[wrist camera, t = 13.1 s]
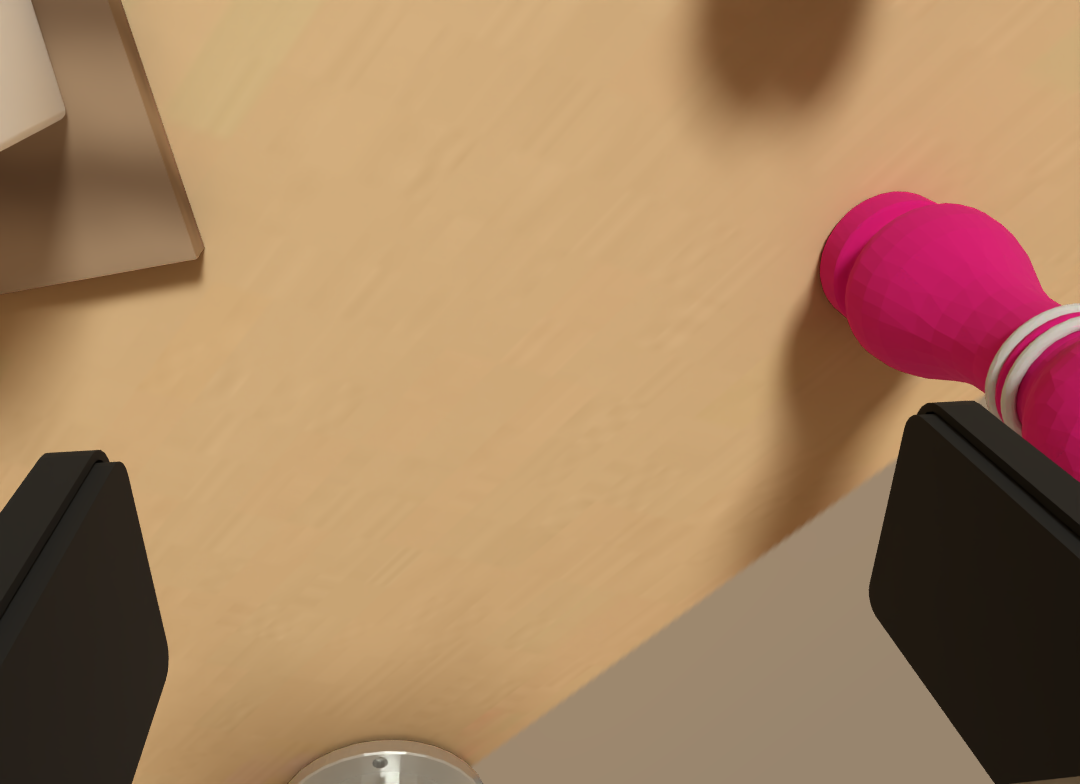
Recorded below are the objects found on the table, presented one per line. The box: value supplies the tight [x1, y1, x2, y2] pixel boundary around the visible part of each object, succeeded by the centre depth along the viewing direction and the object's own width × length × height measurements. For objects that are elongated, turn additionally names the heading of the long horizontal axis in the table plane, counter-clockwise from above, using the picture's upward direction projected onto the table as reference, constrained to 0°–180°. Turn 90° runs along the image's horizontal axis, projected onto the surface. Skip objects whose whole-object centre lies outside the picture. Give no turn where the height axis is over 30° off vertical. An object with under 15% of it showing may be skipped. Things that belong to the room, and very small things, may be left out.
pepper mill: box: [820, 192, 1080, 482], centre depth 32 cm, size 7×7×20 cm
